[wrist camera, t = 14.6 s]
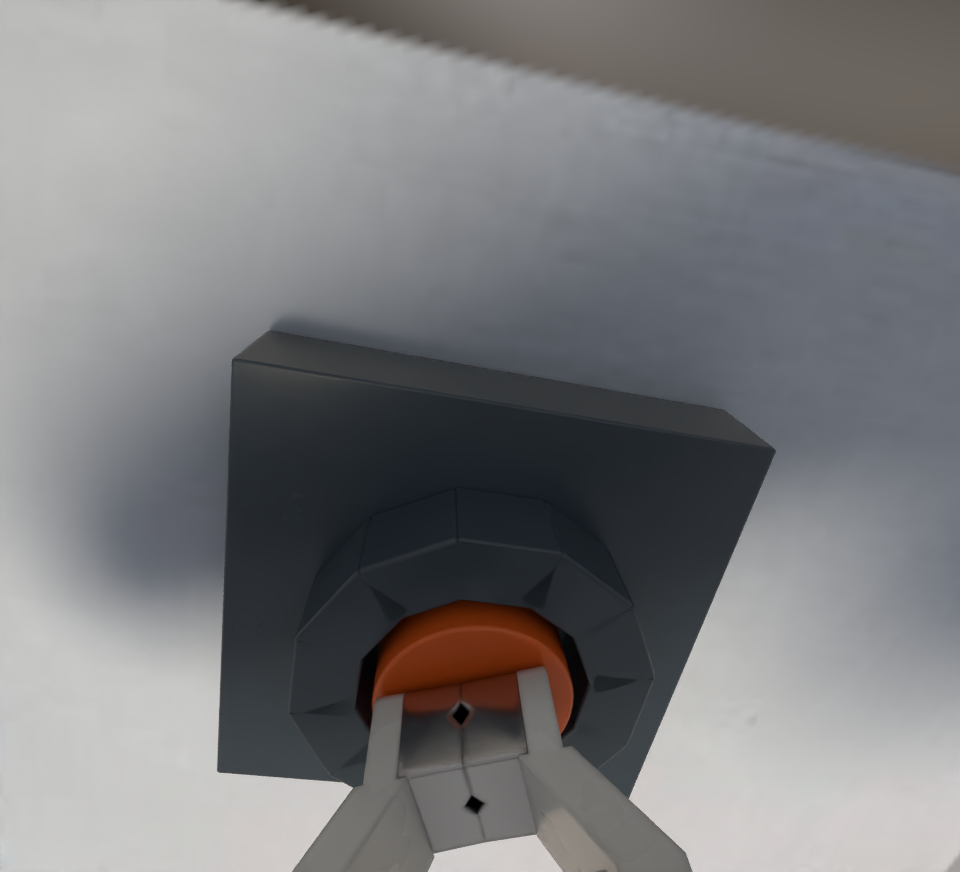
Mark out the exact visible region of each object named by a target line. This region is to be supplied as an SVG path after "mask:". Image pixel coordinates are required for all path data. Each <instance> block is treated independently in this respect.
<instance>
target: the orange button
mask: <svg viewBox="0 0 960 872" xmlns="http://www.w3.org/2000/svg"><path fill="white" fill-rule="evenodd" d="M540 666H544V667H545V668H546V671H547V675H548V680H549V685H550V689H551V694H552V698H553V703H554V707H555V712H556V717H557V721H558V726H559V730H560V735H561V733H562V732H563V730H564V729H565V727H566V725H567V723H568V720H569V718H570V714H571V711H572V707H573V698H574V692H573V684H572V680H571V676H570V672H569V669H568V665H567V661H566V657H565V653H564V650H563V646H562V642H561V638H560V634H559V631H558V628H557V627H556V626H554V625H553V624H552V623H550V622H549V621H547V620H546V619H544V618H543V617H541V616H540V615H539V614H537V613H536V612H534V611H533V610H531V609H530V608H522V607H514V606H506V605H498V604H490V603H482V602H473V601H465V600H460V601H457V602H454V603H451V604H448V605H445V606H441V607H438V608H435V609H432V610H429V611H426V612H422V613H419V614H416V615H413V616H410V617H407V618H403V619H402V620H401V621H400V622H399V623H398V624H397V625H396V626H395V627H394V628H393V629H392V630H391V631H390V632H389V633H388V634H387V635H386V636H385V637H384V638H383V639H382V640H381V641H380V645H379V652H378V659H377V666H376V673H375V680H374V687H373V694H372V713H373V707H374V704H375V702H376V700H377V698H378V697H383V696H389V695H396V694H402V693H406V692H410V691H416V690H422V689H428V688H434V687H440V686H446V685H453V684H459V683H461V682H466V681H471V680H476V679H481V678H486V677H491V676H496V675H501V674H506V673H511V672H515V671H516V674H517V671H520V670H525V669H530V668H535V667H540Z"/></svg>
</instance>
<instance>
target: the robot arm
mask: <svg viewBox="0 0 960 872" xmlns="http://www.w3.org/2000/svg"><path fill="white" fill-rule="evenodd" d="M535 834H537V836H538V838H539V839H540V841H541V842H542V844H543V845H544V846H545V848H546V849H547V850H548V852H549V853H550V854H551V856H552V857H553V858H554V860H555V861H556V862H557V864H558V865H559V866H560V868H561V869H562V870H563V872H692V869H691V866H690V864H689V861H688V858H687V855H686V853H685V852H684V851H683V850H682V849H681V848H680V847H679V846H678V845H677V844H676V843H675V842H674V841H673V840H672V839H671V838H670V837H668V836H667V835H666V834H665V833H664V832H663V831H662V830H661V829H660V828H659V827H658V826H657V825H656V824H655V823H654V822H653V821H651V820H650V819H649V818H648V817H647V816H646V815H645V814H644V813H643V812H642V811H641V810H640V809H639V808H638V807H637V806H635V805H634V804H633V803H632V802H631V801H630V800H629V799H628V798H627V797H626V796H625V795H624V794H623V793H622V792H621V791H620V790H618V789H617V788H616V787H615V786H614V785H613V784H612V783H611V782H610V781H609V780H608V779H607V778H606V777H605V776H604V775H603V774H601V773H600V772H599V771H598V770H597V769H596V768H595V767H594V766H593V765H592V764H591V763H590V762H589V761H588V760H587V759H585V758H584V757H583V756H582V755H581V754H580V753H579V752H578V751H577V750H576V749H575V748H574V747H573V746H568V747H563V744H562V739H561V735H560V730H559V726H558V721H557V717H556V712H555V707H554V703H553V698H552V694H551V689H550V685H549V680H548V675H547V671H546V668H545V667H544V666H540V667H535V668H530V669H525V670H520V671H517V674H516V671H515V672H511V673H506V674H501V675H496V676H491V677H486V678H481V679H476V680H471V681H466V682H461V683H459V684H453V685H446V686H440V687H434V688H428V689H422V690H416V691H410V692H406V693H402V694H396V695H389V696H383V697H378V698H377V700H376V702H375V704H374V707H373V715H372V722H371V729H370V737H369V744H368V751H367V759H366V766H365V773H364V781H363V785H361V786H356V787H354V788H353V789H352V791H351V792H350V793H349V795H348V796H347V797H346V799H345V800H344V802H343V803H342V804H341V806H340V807H339V808H338V810H337V811H336V812H335V814H334V815H333V817H332V818H331V819H330V821H329V822H328V823H327V825H326V826H325V827H324V829H323V830H322V831H321V833H320V834H319V836H318V837H317V838H316V840H315V841H314V842H313V844H312V845H311V846H310V848H309V849H308V851H307V852H306V853H305V855H304V856H303V857H302V859H301V860H300V861H299V863H298V864H297V866H296V867H295V868H294V870H293V871H292V872H428V870H429V868H430V865H431V863H432V861H433V859H434V855H433V854H434V853H438V852H443V851H447V850H452V849H456V848H461V847H465V846H470V845H475V844H479V843H484V842H490V841H496V840H503V839H509V838H516V837H522V836H528V835H535Z"/></svg>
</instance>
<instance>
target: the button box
mask: <svg viewBox="0 0 960 872" xmlns="http://www.w3.org/2000/svg"><path fill="white" fill-rule="evenodd" d="M775 452H776V450H775V449H774V448H773V447H772V446H771V445H769V444H768V443H767V442H765V441H764V440H763V439H761V438H760V437H759V436H758V435H756V434H755V433H754V432H752V431H751V430H750V429H749V428H747V427H746V426H745V425H743V424H742V423H741V422H739V421H738V420H737V419H736V418H734V417H733V416H732V415H730V414H729V413H728V412H726V411H725V410H721V409H715V408H709V407H704V406H698V405H692V404H687V403H681V402H675V401H669V400H664V399H658V398H652V397H646V396H641V395H635V394H629V393H624V392H618V391H612V390H606V389H601V388H595V387H589V386H583V385H578V384H572V383H566V382H561V381H555V380H549V379H543V378H538V377H532V376H526V375H521V374H515V373H509V372H503V371H498V370H492V369H486V368H480V367H475V366H469V365H463V364H458V363H452V362H446V361H440V360H435V359H429V358H423V357H417V356H412V355H406V354H400V353H395V352H389V351H383V350H377V349H372V348H366V347H360V346H354V345H349V344H343V343H337V342H332V341H326V340H320V339H314V338H309V337H303V336H297V335H291V334H286V333H280V332H274V331H267V332H266V333H265V334H264V335H262V336H261V337H260V338H258V339H257V340H256V341H255V342H253V343H252V344H251V345H250V346H248V347H247V348H246V349H244V350H243V351H242V352H241V353H239V354H238V355H237V356H235V357H234V358H233V359H232V373H231V401H230V429H229V456H228V484H227V512H226V540H225V567H224V595H223V623H222V651H221V678H220V706H219V734H218V762H217V771H218V772H219V773H232V774H244V775H257V776H269V777H282V778H295V779H307V780H320V781H333V782H343V783H345V784H347V785H349V786H351V787H353V788H354V787H356V786H361V785H363V781H364V773H365V766H366V759H367V751H368V744H369V737H370V729H371V722H372V715H373V713H372V694H373V687H374V680H375V673H376V666H377V659H378V652H379V645H380V641H381V640H382V639H383V638H384V637H385V636H386V635H387V634H388V633H389V632H390V631H391V630H392V629H393V628H394V627H395V626H396V625H397V624H398V623H399V622H400V621H401V620H402V619H403V618H407V617H410V616H413V615H416V614H419V613H422V612H426V611H429V610H432V609H435V608H438V607H441V606H445V605H448V604H451V603H454V602H457V601H460V600H465V601H473V602H482V603H490V604H498V605H506V606H514V607H522V608H530V609H531V610H533V611H534V612H536V613H537V614H539V615H540V616H541V617H543V618H544V619H546V620H547V621H549V622H550V623H552V624H553V625H554V626H556V627H557V628H558V631H559V634H560V638H561V642H562V646H563V650H564V653H565V657H566V661H567V665H568V669H569V672H570V676H571V680H572V684H573V692H574V698H573V707H572V711H571V714H570V718H569V720H568V723H567V725H566V727H565V729H564V730H563V732H562V733H561V739H562V744H563V747H568V746H573V747H574V748H575V749H576V750H577V751H578V752H579V753H580V754H581V755H582V756H583V757H584V758H585V759H587V760H588V761H589V762H590V763H591V764H592V765H593V766H594V767H595V768H596V769H597V770H598V771H599V772H600V773H601V774H603V775H604V776H605V777H606V778H607V779H608V780H609V781H610V782H611V783H612V784H613V785H614V786H615V787H616V788H617V789H618V790H620V791H621V792H622V793H623V794H624V795H625V796H626V797H627V798H628V799H629V797H630V794H631V792H632V789H633V787H634V785H635V782H636V780H637V778H638V775H639V773H640V771H641V768H642V766H643V763H644V761H645V759H646V756H647V754H648V752H649V749H650V747H651V745H652V742H653V740H654V738H655V735H656V733H657V730H658V728H659V726H660V723H661V721H662V719H663V716H664V714H665V712H666V709H667V707H668V705H669V702H670V700H671V697H672V695H673V693H674V690H675V688H676V686H677V683H678V681H679V679H680V676H681V674H682V671H683V669H684V667H685V664H686V662H687V660H688V657H689V655H690V653H691V650H692V648H693V646H694V643H695V641H696V638H697V636H698V634H699V631H700V629H701V627H702V624H703V622H704V620H705V617H706V615H707V613H708V610H709V608H710V605H711V603H712V601H713V598H714V596H715V594H716V591H717V589H718V587H719V584H720V582H721V580H722V577H723V575H724V572H725V570H726V568H727V565H728V563H729V561H730V558H731V556H732V554H733V551H734V549H735V546H736V544H737V542H738V539H739V537H740V535H741V532H742V530H743V528H744V525H745V523H746V521H747V518H748V516H749V513H750V511H751V509H752V506H753V504H754V502H755V499H756V497H757V495H758V492H759V490H760V488H761V485H762V483H763V480H764V478H765V476H766V473H767V471H768V469H769V466H770V464H771V462H772V459H773V457H774V454H775Z"/></svg>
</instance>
